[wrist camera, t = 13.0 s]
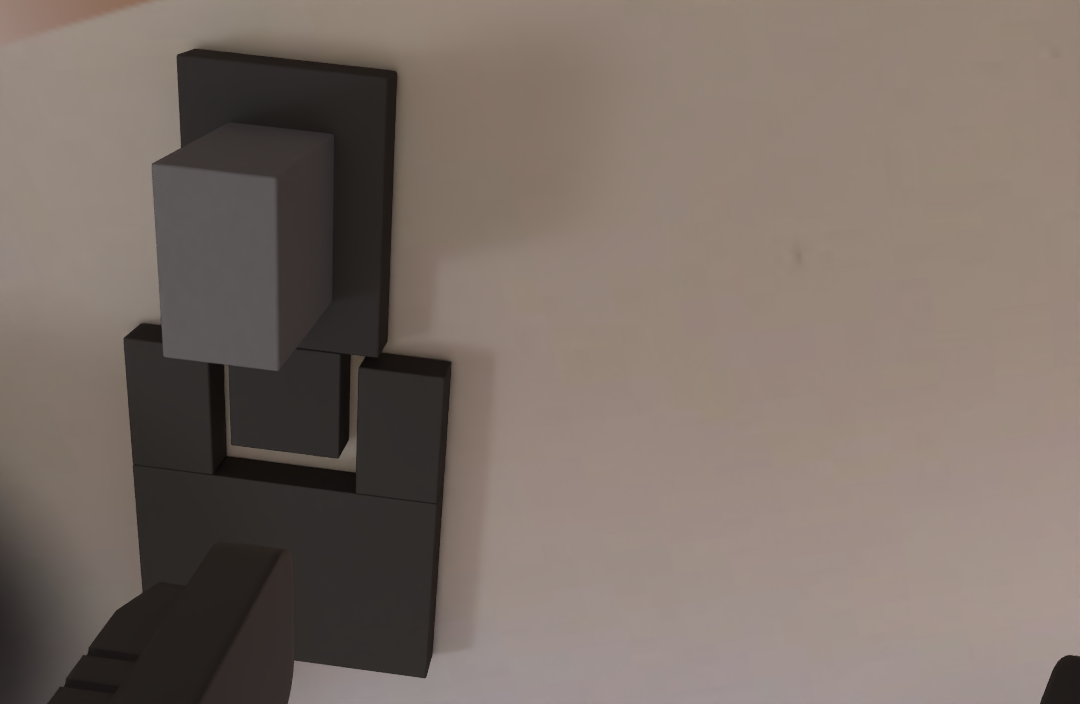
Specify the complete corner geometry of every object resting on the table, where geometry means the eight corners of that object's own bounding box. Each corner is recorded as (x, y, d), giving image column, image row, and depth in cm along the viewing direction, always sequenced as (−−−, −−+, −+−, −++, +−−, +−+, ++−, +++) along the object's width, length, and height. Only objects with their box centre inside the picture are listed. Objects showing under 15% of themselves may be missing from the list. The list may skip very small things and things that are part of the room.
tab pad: (193, 48, 35) (84, 83, 28) (397, 70, 34) (338, 112, 28) (209, 422, 41) (122, 528, 34) (384, 444, 40) (332, 555, 33)
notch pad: (140, 322, 39) (122, 338, 38) (451, 361, 39) (445, 378, 37) (160, 617, 45) (145, 640, 43) (432, 655, 44) (426, 678, 43)
